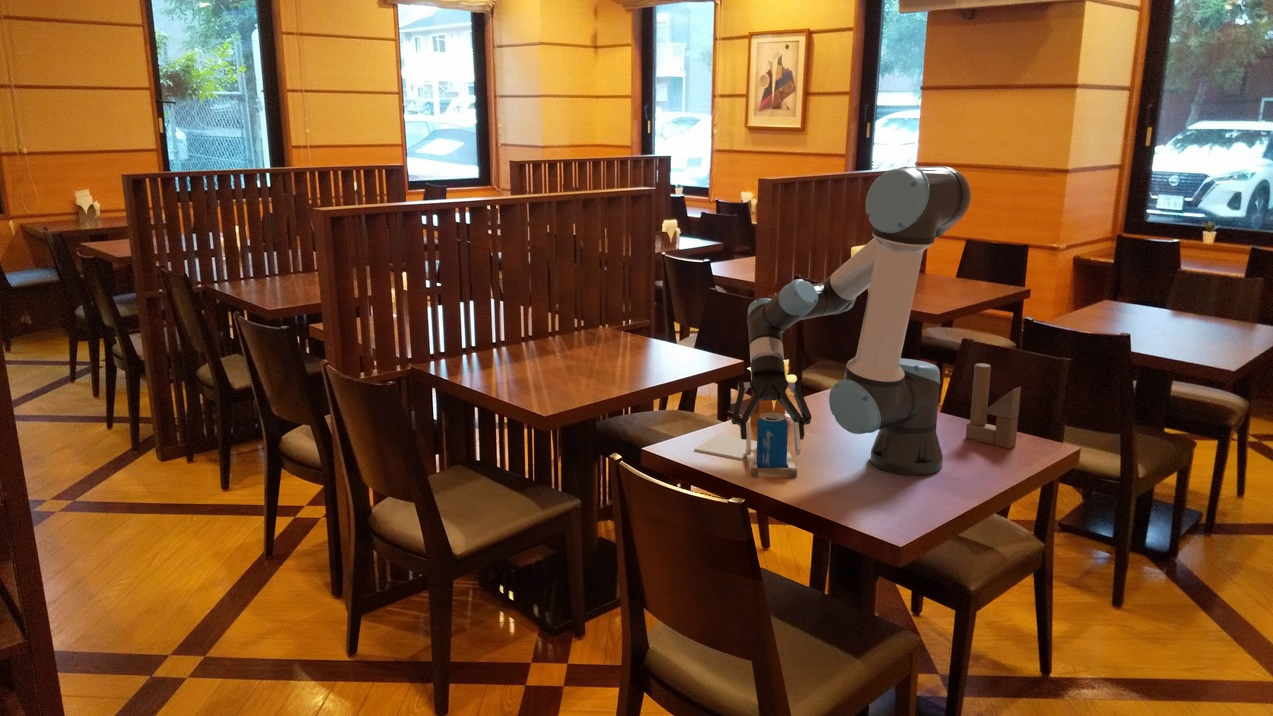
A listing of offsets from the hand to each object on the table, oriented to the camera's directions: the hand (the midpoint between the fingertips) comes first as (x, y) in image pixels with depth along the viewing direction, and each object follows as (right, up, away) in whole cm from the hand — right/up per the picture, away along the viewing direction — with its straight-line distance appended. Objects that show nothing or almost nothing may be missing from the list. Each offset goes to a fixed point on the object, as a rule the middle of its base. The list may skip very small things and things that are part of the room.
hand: (773, 452), depth 190 cm
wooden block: (+54, 0, +20) cm, 57 cm away
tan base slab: (0, -4, +6) cm, 7 cm away
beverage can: (0, -4, +4) cm, 6 cm away
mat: (-8, -1, +18) cm, 19 cm away
